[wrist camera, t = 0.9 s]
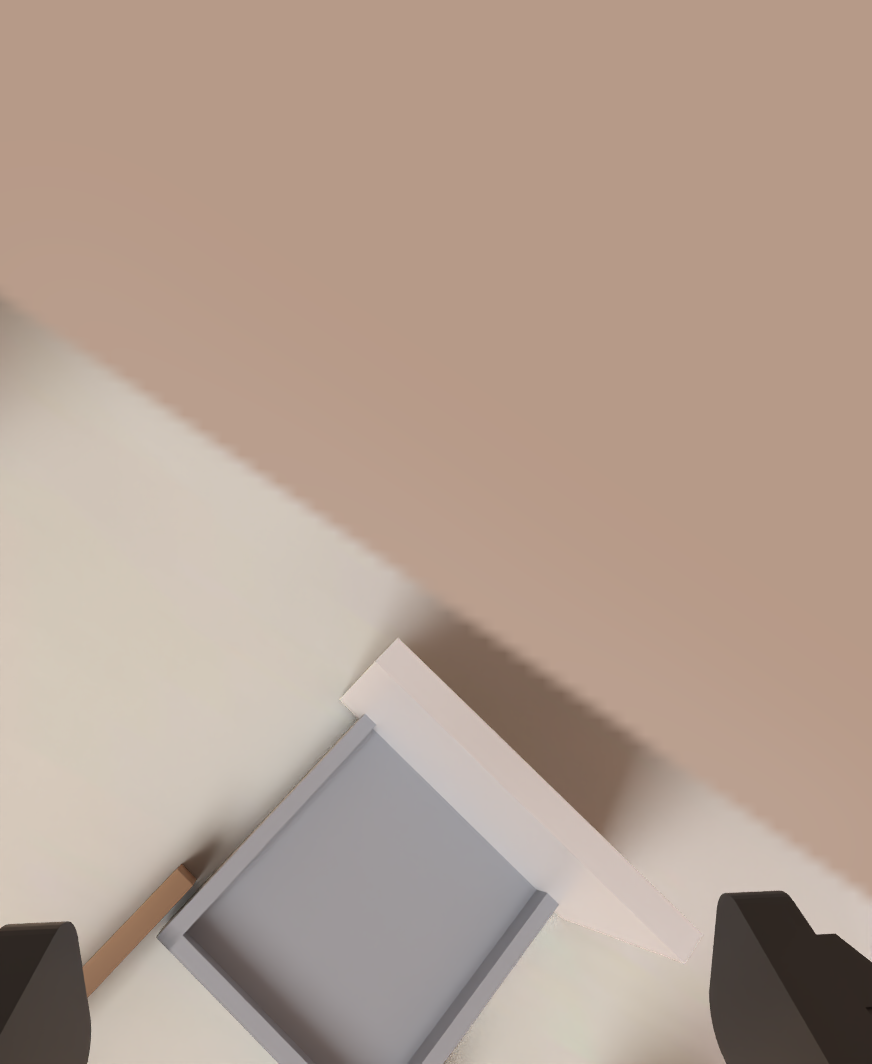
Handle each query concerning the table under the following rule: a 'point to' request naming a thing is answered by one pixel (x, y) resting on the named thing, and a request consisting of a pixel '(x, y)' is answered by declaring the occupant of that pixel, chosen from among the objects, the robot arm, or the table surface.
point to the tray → (404, 885)
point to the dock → (136, 928)
